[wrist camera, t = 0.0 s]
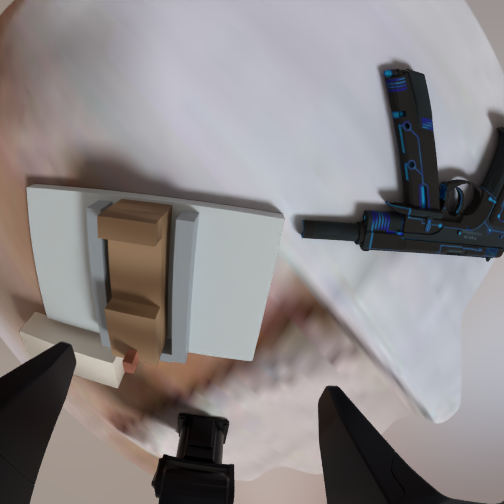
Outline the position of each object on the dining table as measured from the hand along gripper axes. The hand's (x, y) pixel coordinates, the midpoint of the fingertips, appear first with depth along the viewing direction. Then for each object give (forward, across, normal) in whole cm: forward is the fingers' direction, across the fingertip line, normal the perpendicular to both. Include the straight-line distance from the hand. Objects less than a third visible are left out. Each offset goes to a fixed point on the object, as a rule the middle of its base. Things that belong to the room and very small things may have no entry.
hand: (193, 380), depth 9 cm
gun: (+15, -17, -8) cm, 24 cm away
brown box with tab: (+14, +6, +4) cm, 15 cm away
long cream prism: (+15, +15, +15) cm, 26 cm away
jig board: (+15, +7, +5) cm, 17 cm away
